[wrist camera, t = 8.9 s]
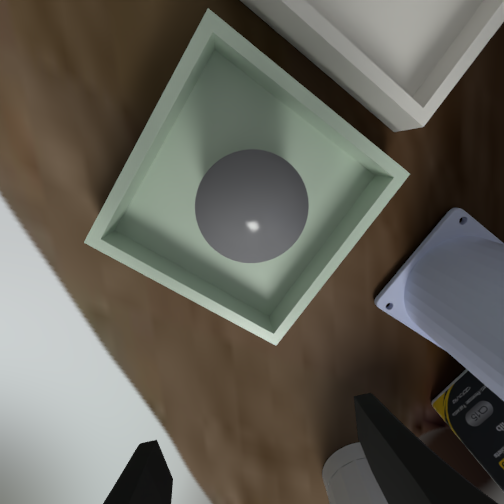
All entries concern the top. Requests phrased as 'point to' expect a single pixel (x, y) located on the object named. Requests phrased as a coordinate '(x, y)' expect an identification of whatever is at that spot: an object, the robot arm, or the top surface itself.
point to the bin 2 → (388, 47)
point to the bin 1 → (224, 143)
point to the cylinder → (251, 206)
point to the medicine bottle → (475, 421)
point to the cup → (351, 478)
